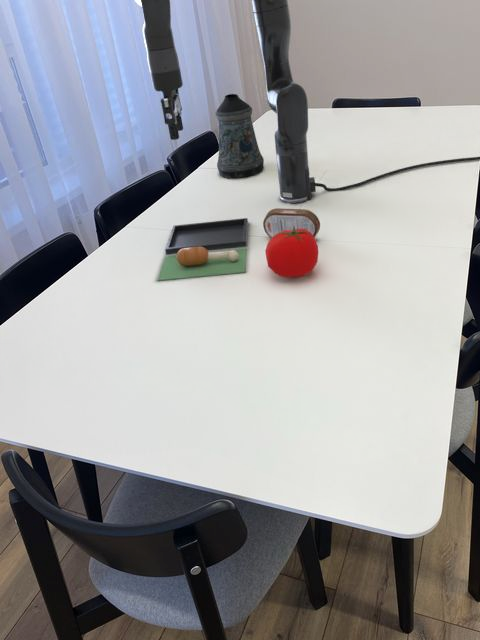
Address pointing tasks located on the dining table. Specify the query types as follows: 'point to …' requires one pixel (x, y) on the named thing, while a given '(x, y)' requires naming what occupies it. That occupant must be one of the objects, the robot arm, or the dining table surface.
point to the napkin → (202, 267)
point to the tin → (290, 221)
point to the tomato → (292, 253)
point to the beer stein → (237, 140)
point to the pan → (209, 235)
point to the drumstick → (202, 256)
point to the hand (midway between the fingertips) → (177, 134)
